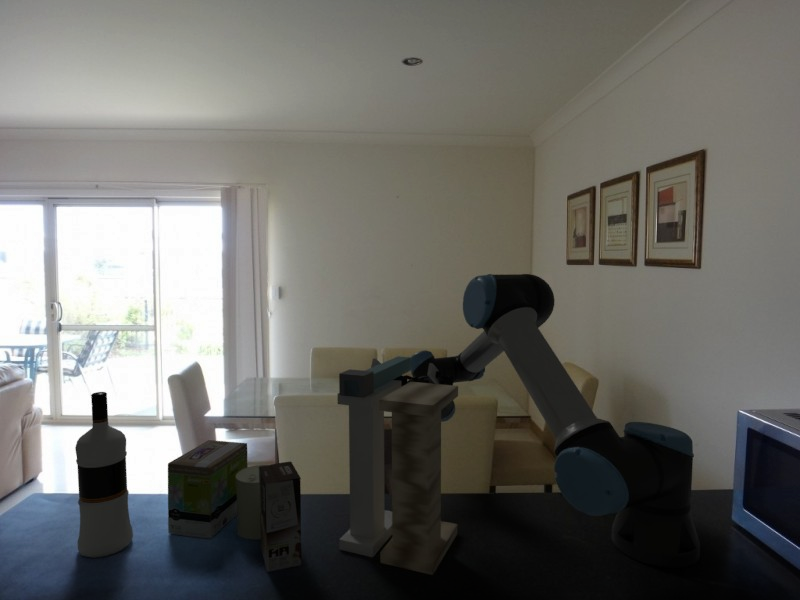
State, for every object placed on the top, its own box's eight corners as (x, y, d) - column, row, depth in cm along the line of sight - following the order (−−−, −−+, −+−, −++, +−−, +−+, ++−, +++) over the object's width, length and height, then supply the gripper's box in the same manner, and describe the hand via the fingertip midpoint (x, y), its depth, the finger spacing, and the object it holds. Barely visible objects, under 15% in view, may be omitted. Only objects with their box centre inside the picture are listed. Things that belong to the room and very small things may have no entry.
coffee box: (303, 565, 95) (301, 478, 94) (266, 573, 92) (264, 483, 91) (293, 540, 103) (292, 460, 102) (259, 547, 101) (257, 464, 100)
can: (227, 536, 105) (226, 478, 104) (251, 515, 114) (250, 460, 113) (270, 542, 103) (268, 482, 102) (290, 519, 112) (289, 464, 111)
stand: (401, 522, 110) (401, 380, 108) (372, 557, 97) (371, 397, 95) (371, 516, 113) (370, 377, 111) (339, 549, 100) (337, 393, 98)
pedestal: (457, 533, 106) (458, 385, 103) (432, 575, 92) (432, 405, 90) (410, 524, 109) (410, 381, 107) (380, 562, 96) (379, 399, 93)
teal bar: (414, 370, 118) (414, 353, 117) (363, 397, 95) (363, 375, 94) (394, 369, 119) (394, 351, 119) (339, 395, 97) (339, 373, 96)
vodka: (73, 564, 95) (65, 401, 93) (82, 539, 104) (75, 389, 102) (131, 553, 99) (124, 395, 97) (135, 530, 107) (128, 384, 105)
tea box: (212, 540, 104) (210, 466, 102) (167, 535, 106) (164, 463, 104) (249, 505, 118) (248, 441, 117) (208, 501, 120) (206, 438, 119)
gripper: (473, 413, 129) (452, 387, 111) (380, 403, 138) (347, 377, 121) (477, 384, 132) (457, 354, 114) (386, 376, 141) (354, 347, 124)
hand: (400, 366), depth 117 cm, fingers open, 13 cm apart
